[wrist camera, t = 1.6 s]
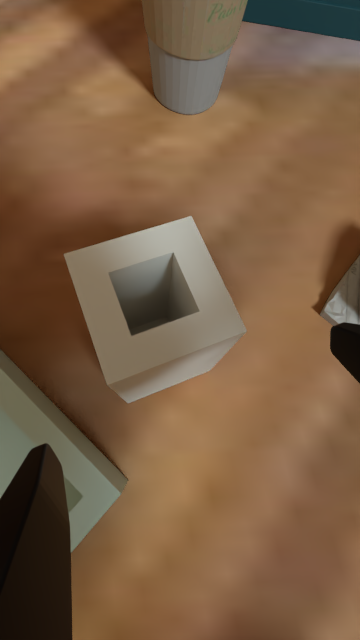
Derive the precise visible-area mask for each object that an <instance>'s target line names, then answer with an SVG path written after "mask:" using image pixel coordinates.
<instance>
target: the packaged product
mask: <svg viewBox="0 0 360 640" xmlns="http://www.w3.org/2000/svg"><path fill="white" fill-rule="evenodd" d="M320 316H322V317H323V318H324V319H326V320H327V321H328V322H329V323H331V324H332V325H333V326H335V325H337V324H340V323H343V322H347V323H353V324H360V255H359V256H358V258H357V259H356V261H355V262H354V263H353V264H352V266H351V267H350V268H349V270H348V271H347V272H346V274H345V275H344V276H343V278H342V279H341V280H340V282H339V283H338V285H337V286H336V287H335V289H334V290H333V291H332V293H331V295H330V296H329V298H328V300H327V302H326V304H325V305H324V307H323V309H322V311H321V313H320Z"/></svg>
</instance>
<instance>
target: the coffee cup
mask: <svg viewBox="0 0 360 640" xmlns="http://www.w3.org/2000/svg"><path fill="white" fill-rule="evenodd" d="M247 2H248V0H142V7H143V16H144V25H145V30H146V33H147V35H148V44H149V53H150V63H151V72H152V81H153V90H154V93H155V96H156V98H157V99H158V101H159V102H160V103H161V104H162V105H164V106H165V107H167V108H168V109H170V110H172V111H174V112H177V113H181V114H188V115H192V114H198V113H201V112H203V111H205V110H207V109H208V108H210V107H211V106H212V105H213V104H214V102H215V101H216V99H217V97H218V93H219V90H220V86H221V83H222V80H223V76H224V73H225V69H226V66H227V63H228V59H229V56H230V52H231V49H232V46H233V44H234V42H235V40H236V39H237V35H238V32H239V29H240V25H241V22H242V18H243V15H244V12H245V8H246V5H247Z"/></svg>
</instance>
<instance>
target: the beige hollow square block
mask: <svg viewBox="0 0 360 640" xmlns="http://www.w3.org/2000/svg"><path fill="white" fill-rule="evenodd" d="M64 257H65V260H66V263H67V266H68V269H69V272H70V275H71V278H72V281H73V284H74V287H75V290H76V293H77V296H78V299H79V302H80V305H81V308H82V311H83V314H84V317H85V320H86V323H87V326H88V329H89V332H90V335H91V338H92V341H93V345H94V348H95V351H96V354H97V357H98V360H99V363H100V366H101V369H102V372H103V375H104V378H105V381H106V384H107V386H108V387H110V388H111V389H112V390H113V391H114V392H115V393H117V394H118V395H119V396H120V397H121V398H122V399H123V400H125V401H126V402H127V403H131V402H133V401H136V400H138V399H140V398H143V397H145V396H148V395H150V394H153V393H155V392H158V391H160V390H163V389H165V388H168V387H170V386H173V385H175V384H178V383H180V382H183V381H185V380H188V379H190V378H193V377H195V376H198V375H200V374H203V373H205V372H208V371H210V370H211V369H212V368H213V367H214V366H215V364H216V363H217V362H218V361H219V360H220V359H221V358H222V357H223V356H224V355H225V354H226V353H227V352H228V351H229V350H230V349H231V348H232V347H233V345H234V344H235V343H236V342H237V341H238V340H239V339H240V338H241V337H242V336H243V335H244V334H245V333H246V332H247V330H246V328H245V326H244V324H243V322H242V320H241V318H240V316H239V313H238V311H237V309H236V307H235V305H234V303H233V301H232V299H231V297H230V295H229V293H228V291H227V289H226V287H225V285H224V282H223V280H222V278H221V276H220V274H219V272H218V270H217V268H216V266H215V264H214V262H213V260H212V258H211V256H210V254H209V251H208V249H207V247H206V245H205V243H204V241H203V239H202V237H201V235H200V233H199V231H198V229H197V227H196V225H195V223H194V221H193V218H192V216H189V217H186V218H183V219H179V220H176V221H172V222H169V223H166V224H162V225H159V226H156V227H152V228H149V229H146V230H142V231H139V232H136V233H132V234H129V235H125V236H122V237H119V238H115V239H112V240H109V241H105V242H102V243H99V244H95V245H92V246H89V247H85V248H82V249H79V250H75V251H72V252H68V253H65V254H64Z"/></svg>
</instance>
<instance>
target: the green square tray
mask: <svg viewBox="0 0 360 640" xmlns="http://www.w3.org/2000/svg"><path fill="white" fill-rule="evenodd" d="M44 443H48V444H49V445H50V446H51V448H52V450H53V451H54V453H55V454H56V456H57V458H58V459H59V461H60V463H61V465H62V469H63V476H64V483H65V491H66V498H67V506H68V513H69V522H70V539H71V552H72V551H73V550H74V549H75V548H76V547H77V545H78V544H79V543H80V542H81V541H82V539H83V538H84V537H85V536H86V535H87V534H88V532H89V531H90V530H91V529H92V528H93V527H94V525H95V524H96V523H97V522H98V521H99V519H100V518H101V517H102V516H103V515H104V514H105V512H106V511H107V510H108V509H109V508H110V506H111V505H112V504H113V503H114V502H115V501H116V499H117V498H118V497H119V496H120V495H121V493H122V491H123V489H124V488H125V486H126V484H127V482H128V479H127V478H126V477H125V476H124V475H123V474H122V473H121V472H120V471H119V470H118V469H117V468H116V467H115V466H114V465H113V464H112V463H111V462H110V461H109V460H108V459H107V458H106V457H105V456H104V455H103V454H102V453H101V452H100V451H99V450H98V449H97V448H96V447H95V445H94V444H93V443H92V442H91V441H90V440H89V439H88V438H87V437H86V436H85V435H84V434H83V433H82V432H81V431H80V430H79V429H78V428H77V427H76V426H75V425H74V424H73V423H72V422H71V421H70V420H69V419H68V418H67V417H66V416H65V415H64V414H63V413H62V412H61V411H60V410H59V409H58V408H57V407H56V406H55V405H54V404H53V402H52V401H51V400H50V399H49V398H48V397H47V396H46V395H45V394H44V393H43V392H42V391H41V390H40V389H39V388H38V387H37V386H36V385H35V384H34V383H33V382H32V381H31V380H30V379H29V378H28V377H27V376H26V375H25V374H24V373H23V372H22V371H21V370H20V369H19V368H18V367H17V366H16V365H15V364H14V363H13V362H12V361H11V360H10V358H9V357H8V356H7V355H6V354H5V353H4V352H3V351H2V350H1V349H0V498H1V496H2V495H3V493H4V492H5V490H6V488H7V487H8V485H9V484H10V482H11V480H12V479H13V477H14V475H15V474H16V472H17V471H18V469H19V467H20V466H21V464H22V463H23V461H24V459H25V458H26V456H27V454H28V453H29V451H30V450H31V449H32V448H34V447H36V446H39V445H41V444H44Z"/></svg>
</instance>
